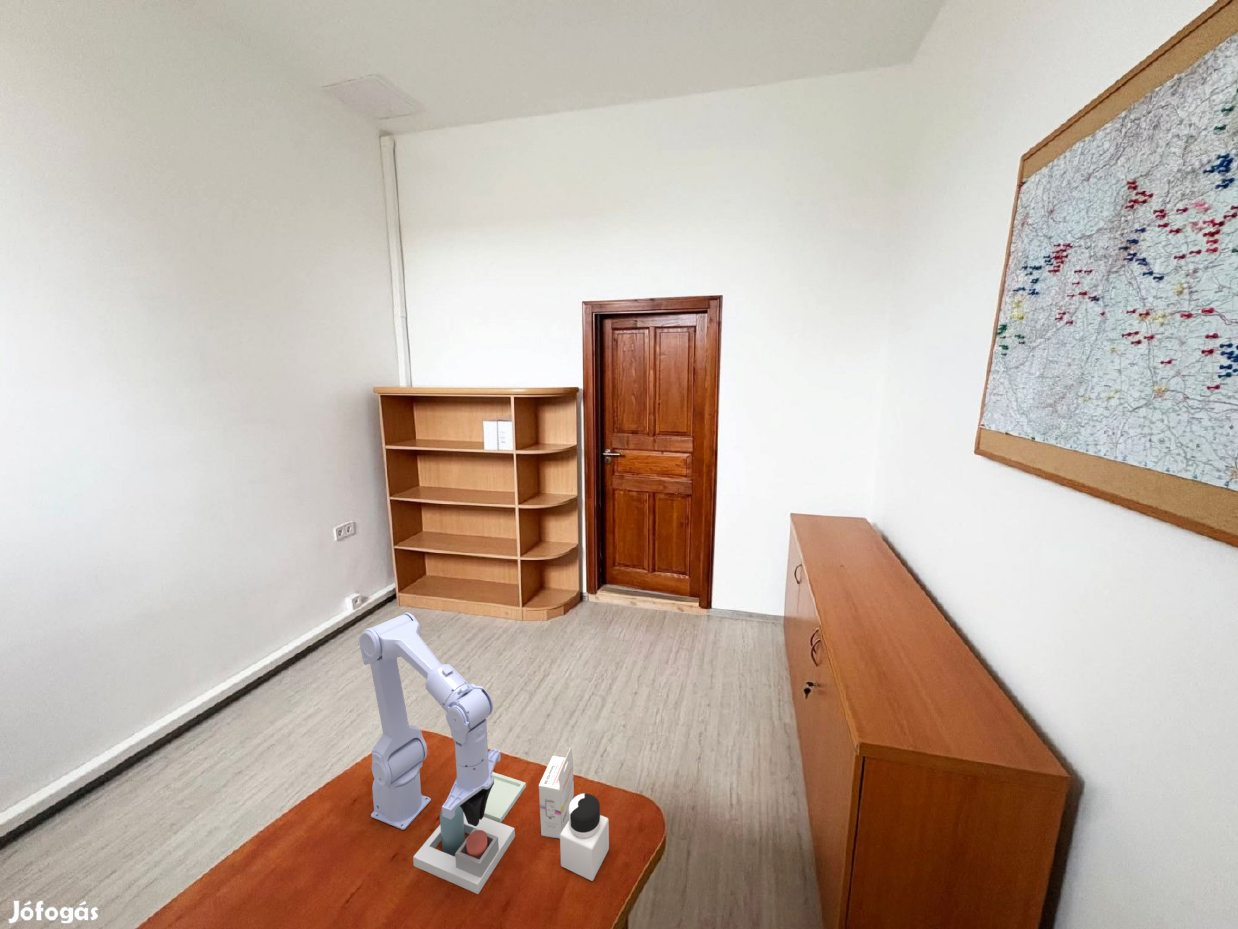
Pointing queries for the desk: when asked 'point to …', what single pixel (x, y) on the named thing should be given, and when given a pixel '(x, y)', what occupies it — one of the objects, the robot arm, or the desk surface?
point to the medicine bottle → (584, 837)
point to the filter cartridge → (452, 832)
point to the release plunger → (476, 844)
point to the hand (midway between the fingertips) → (475, 820)
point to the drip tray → (502, 796)
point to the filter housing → (466, 856)
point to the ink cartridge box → (556, 795)
